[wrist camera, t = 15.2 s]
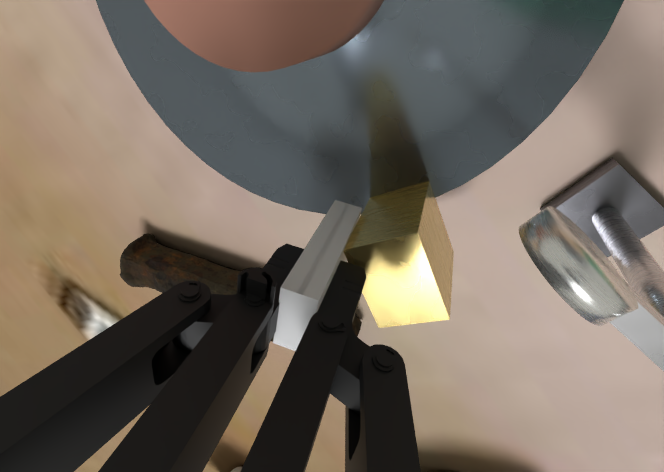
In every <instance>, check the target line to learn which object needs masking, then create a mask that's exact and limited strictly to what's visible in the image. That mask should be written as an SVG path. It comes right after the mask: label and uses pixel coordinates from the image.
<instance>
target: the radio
mask: <svg viewBox="0 0 664 472" xmlns="http://www.w3.org/2000/svg"><path fill="white" fill-rule="evenodd" d="M241 469H242V467H241V466H240V467H236V468H234V469H233V470H232V471H230V472H240V471H241Z"/></svg>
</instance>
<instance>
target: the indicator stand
mask: <svg viewBox="0 0 664 472" xmlns="http://www.w3.org/2000/svg"><path fill="white" fill-rule="evenodd" d="M540 210H541V212H539V213H538V214H537V215H535V216H534V217H532V218H531V219H529V220H528V221H527V222H525V223H524V224H522V225H521V226H520V227H519V234H520V238H521V240H522V243H523V245H524V247H525V249H526V251H527V252H528V254H529V256H530V257H531V259H532V261H533V262H534V264H535V265H536V266H537V268H538V269H539V271H540V272H541V273H542V275H543V276H544V277H545V279H546V280H547V281H548V282H549V284H550V285H551V286H552V287H553V288H554V290H555V291H556V292H557V293H558V294H559V295H560V296H561V297H562V298H563V299H564V300H565V301H566V302H567V303H568V304H569V305H570V306H571V307H572V308H573V309H574V310H575V311H576V312H577V313H578V314H580V315H581V316H582V317H583V318H585V319H586V320H588V321H589V322H591V323H593V324H595V325H598V326H602V325H604V324H606V323H608V322H610V323H611V324H612V325H613V326H614V327H615V328H617V329H618V330H619V331H620V332H621V333H622V334H623V335H624V336H625V337H626V338H628V339H629V340H630V341H631V342H632V343H633V344H634V345H635V346H636V347H637V348H639V349H640V350H641V351H642V352H643V353H644V354H645V355H646V356H647V357H648V358H650V359H651V360H652V361H653V362H654V363H655V364H656V365H657V366H658V367H659V368H661V369H662V370H663V371H664V271H663V270H662V269H661V267H660V266H659V265H658V263H657V262H656V261H655V259H654V258H653V257H652V255H651V254H650V253H649V251H648V250H647V249H646V247H645V246H644V245H643V243H642V242H641V241H640V239H641V238H643V237H644V236H646V235H648V234H650V233H652V232H653V231H655V230H657V229H659V228H660V227H662V226H664V208H663V207H662V206H661V205H660V204H659V203H658V202H657V201H656V200H655V199H654V198H653V197H652V196H651V195H650V194H649V193H648V192H647V191H646V190H645V189H644V188H643V187H642V186H641V185H640V184H639V183H638V182H637V181H636V180H635V179H634V178H633V177H632V176H631V175H630V174H629V173H628V172H627V171H626V170H625V169H624V168H623V167H622V166H621V165H620V164H619V163H618V162H617V161H616V160H615V159H613V158H611V159H610V160H608V161H607V162H605V163H604V164H603V165H601V166H600V167H598V168H597V169H596V170H594V171H593V172H591V173H590V174H588V175H587V176H586V177H584V178H583V179H581V180H580V181H579V182H577V183H576V184H574V185H573V186H571V187H570V188H569V189H567V190H566V191H564V192H563V193H562V194H560V195H559V196H557V197H556V198H555V199H553V200H552V201H550V202H549V203H547V204H546V205H545V206H543V207H542V208H540ZM611 255H612V257H613V258H614V260H615V262H616V264H617V265H618V267H619V269H620V270H621V272H622V274H623V275H624V277H625V279H626V281H627V282H628V283H627V282H625V280H624V279H623V277H622V276H621V275H620V273H619V272H618V271H617V269H616V268H615V267H614V266H613V264H612V263H611V262H610V261H609V259H608V258H607V257H609V256H611Z"/></svg>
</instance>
